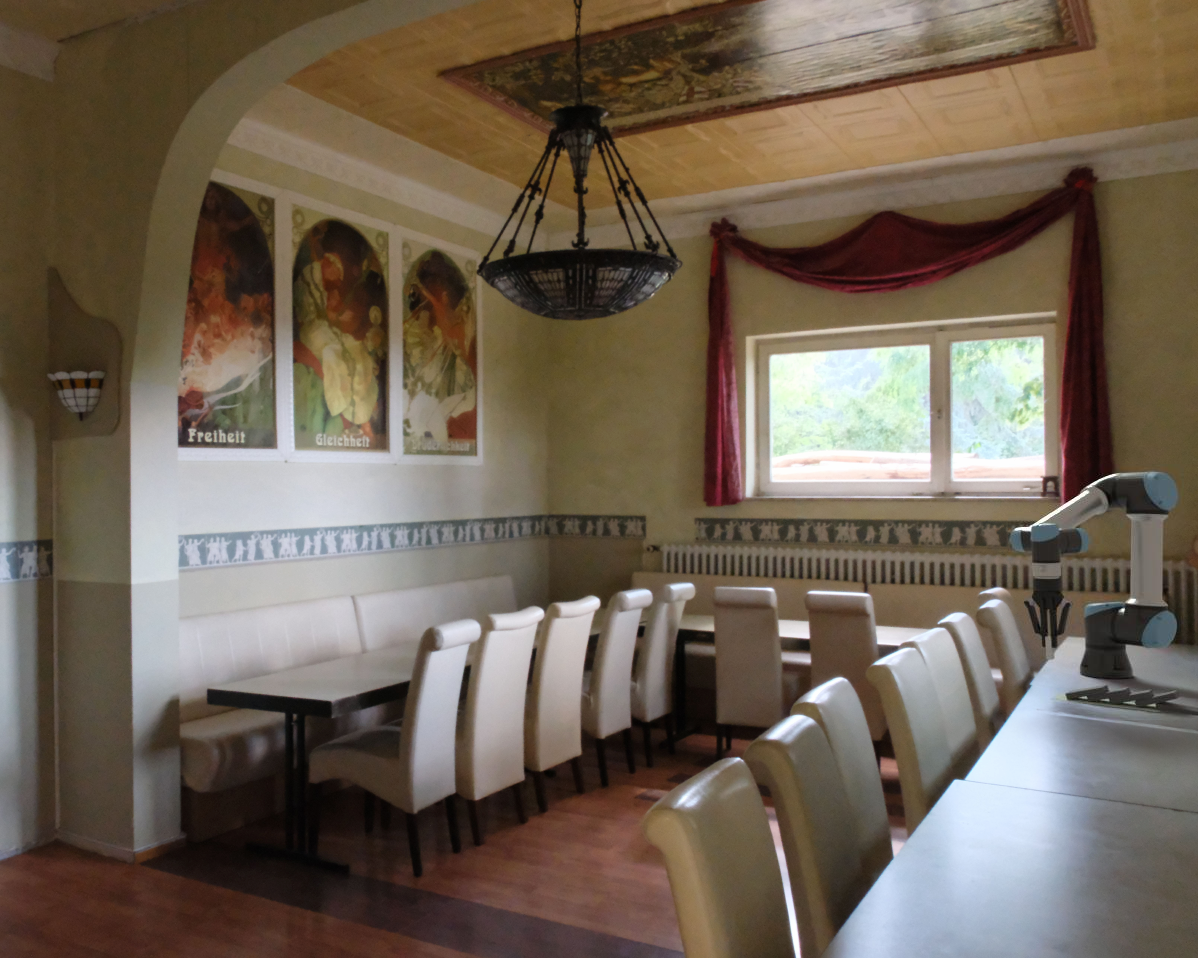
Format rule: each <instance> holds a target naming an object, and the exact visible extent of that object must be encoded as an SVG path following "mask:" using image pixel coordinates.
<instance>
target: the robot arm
mask: <svg viewBox="0 0 1198 958" xmlns="http://www.w3.org/2000/svg"><path fill="white" fill-rule="evenodd" d="M1178 499H1179V492H1178V488H1177V484H1176V482H1175V481H1174V480H1173V478H1172V477H1171V476H1170V475H1169V474H1167V473H1166V472H1161V471H1140V472H1139V471H1138V472H1137V471H1136V472H1117V473H1112V474H1109V475H1107V476H1104V477H1101V478H1099V479H1098V480H1096V481H1094V482H1092V483H1090V484H1088V485H1087V486H1086V487H1084V488H1083V489H1081V490H1080V492H1079V494H1078V495H1077V496H1076V497H1074V498H1073V499H1071V500H1069V501H1068V502H1066V503H1065V504H1063V505H1061V506H1060V507H1058V508H1056V509H1055V510H1054V511H1052V512H1050V513H1049V514H1047V515H1046V516H1044V517H1043V518H1041V519H1040V520H1038V521H1036V522H1035V523H1033V524H1031V525H1029V526H1027V527H1026V526H1022V527H1021V526H1020V527H1016V528H1014V529H1013V531H1012V532H1011V534H1010V538H1009V540H1010V545H1011V547H1012V549H1014V550H1015V551H1017V552H1023V553H1031V565H1032V566H1031V567H1032V576H1033V578H1032V593H1031V594H1032V595H1031V597H1030V598H1029V599H1026V600H1024V601H1023V604H1024V605H1025V607H1026V608H1027V611H1028V615H1029V617H1030V621H1031V624H1032V627H1033V631H1034V633H1035V634H1037V635H1039V636H1041V645H1042V646H1041V647H1042V648H1045V659H1046V660H1051V661H1053V660H1054V659H1055V657H1056V656H1055V649H1057V648H1058V636H1061V635H1063V634H1065V631H1066V625H1067V620H1068V616H1069V612H1070V609H1071V608H1072V606H1073V602H1072V601H1069V600H1067V599H1066V598H1065V597H1064V594H1063V587H1062V583H1063V582H1062V578H1061V576H1062V565H1061V563H1062V562H1061V556H1064V555H1078V554H1082V553H1085V552H1086V551H1087V550H1088V549H1089V546H1090V544H1091V542H1090V541H1091V538H1090V535H1089V534H1088V532H1087V531H1086V530H1085V529H1083V528H1080V527H1078V526H1079V525H1081V524H1083V523H1084V522H1086V521H1087V520H1089V519H1091V518H1092V517H1094V516H1095V515H1102V514H1104V513H1106V512H1109V511H1113V510H1114V511H1115V510H1125V515H1126V517H1128V519H1130V524H1131V525H1130V530H1131V531H1130V532H1131V533H1130V534H1131V535H1130V597H1129V598H1128V599H1127V600H1126V601H1116V602H1114V601H1113V602H1112V601H1111V602H1098V603H1097V602H1095V603H1089V604H1087V605H1086V606H1085V607H1084V616H1083V619H1084V641H1085V642H1084V644H1085V645H1084V646H1085V647H1084V652H1083V655H1082V658H1081V662H1080V663H1079V674H1081V675H1083V676H1088V677H1091V678H1101V679H1102V678H1103V679H1129V678H1133V676H1134V670H1133V669H1134V668H1133V667H1132V664H1131V661H1130V658H1129V655H1128V653H1127V646H1132V647H1133V646H1135V647H1142V648H1146V649H1159V650H1160V649H1165V648H1166V647H1168V646H1169V645H1170V644H1171V643H1172V642H1173V640H1174V638H1175V636H1176V633H1177V629H1178V628H1177V627H1178V623H1177V619H1176V616H1175V615H1174V613H1173V612H1170V611H1169V605H1168V603H1166V601H1164V600H1163V568H1164V567H1163V566H1164V565H1163V563H1164V562H1163V559H1164V557H1163V556H1164V555H1163V552H1164V551H1163V549H1164V546H1163V545H1164V544H1163V543H1164V542H1163V541H1164V539H1163V538H1164V537H1163V536H1164V521H1165V520H1166V519H1167V518H1168V517H1169V516H1170V514H1169V512H1170V510H1173V509H1174V508H1175V507H1176V506H1177V503H1178V501H1179V500H1178ZM1061 603H1062V605H1061ZM1035 604H1036V605H1037V607H1038V608H1039V616H1040V621H1039V617H1038V614H1037V611H1036V608H1035V606H1034V605H1035ZM1060 605H1061V606H1062V610H1061V613H1060V618H1059V623H1058V615H1057V612H1058V607H1060ZM1048 613H1049V622H1048ZM1048 623H1049V625H1048ZM1049 627H1050V629H1049ZM1049 630H1050V633H1049ZM1049 634H1050V635H1049Z"/></svg>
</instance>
